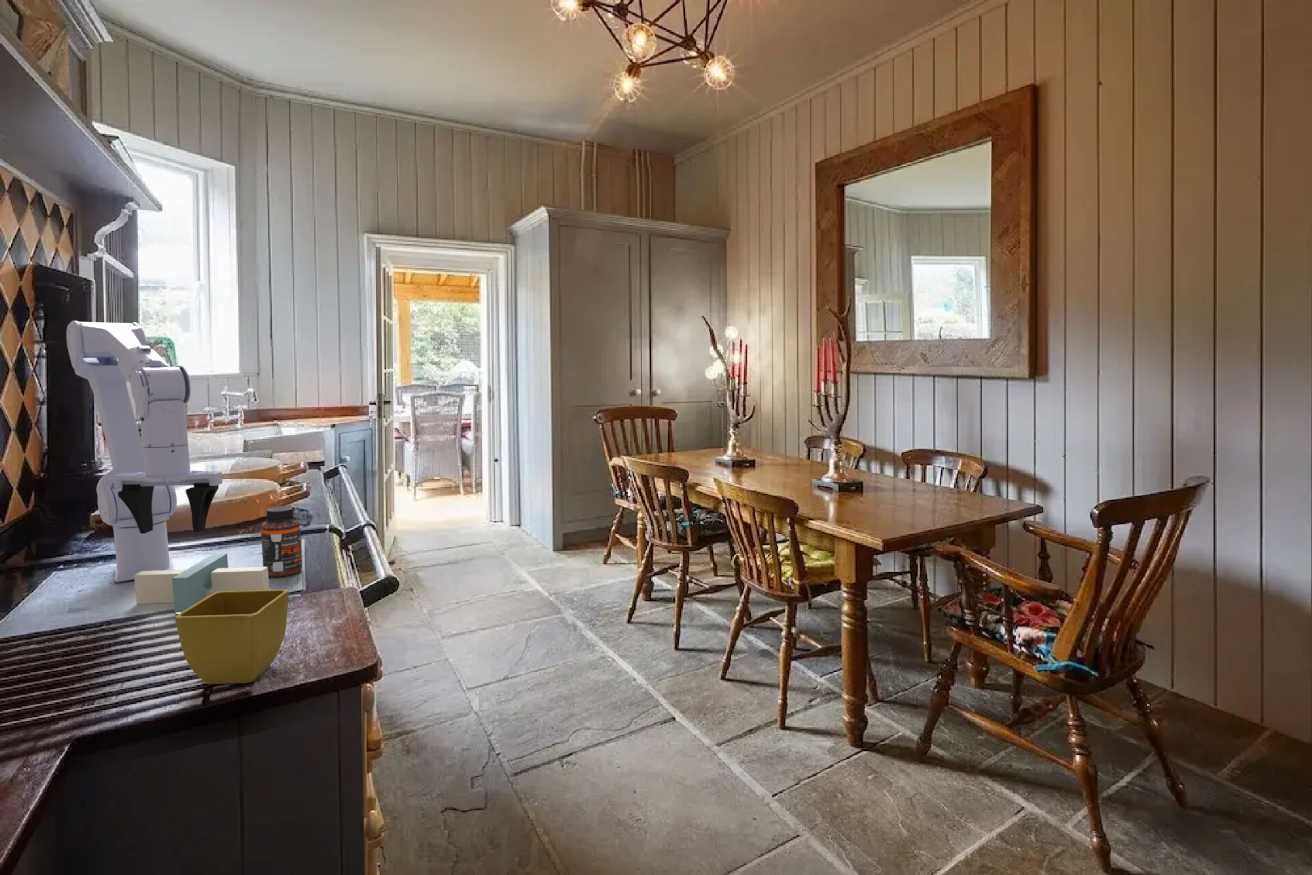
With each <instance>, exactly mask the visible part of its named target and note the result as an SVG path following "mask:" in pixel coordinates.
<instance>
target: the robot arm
mask: <svg viewBox="0 0 1312 875" xmlns="http://www.w3.org/2000/svg"><path fill="white" fill-rule="evenodd" d="M146 341H147V340H146V334H145V331H144V328H143V327H142V326H141V325H140V324H139V323H137V322H131V323H129V322H97V321H96V322H95V321H93V322H91V321H90V322H89V321H78V320H72V321H71V322H70V323H68V325H67V328H66V346H67V350H68V355H69V359H70V361H71V366H72V368H73V370H74V372H75V375H77V376H78V377H81V378H83V379H85V380H87V381H88V383H89V386H90V389H91V391H92V393H93V397H94V400H95V403H96V408H97V412H98V415H99V420H100V424H101V427H102V431H103V435H104V439H105V442H106V443H105V444H106V448H107V452H108V455H109V458H110V463H111V467H112V469H110V471H108V472H106V474H104V475H103V476H102V477H101V478H100V479H99V481H98V483H97V485H96V495H97V507H98V513H99V515H100V519H101V520H102V521H103V522H104V523H105V524H107V525H108V526H112V528H113V529H112V530H113V539H114V548H115V549H114V550H115V558H116V560H115V561H116V565H115V566H114V583H121V582H122V583H123V582H127V581H135V579H134V575H136V574H137V573H139V572H141V571H157V570H175V569H174V566H173V562H172V558H170V550H169V541H168V529H167V528H168V527H167V521H169V520H170V516H172V515H173V514H174V513H175V511H176V509H177V506H178V505H177V504H178V498H177V493H176V489H175V487H176V486H180V487H181V486H193V487H189V488H186V489H185V491H184V492H185V494H186V497H187V499H188V503H189V506H190V512H191V523H192V524H191V525H192V530H193V533H200V532H202V531H204V530H205V529H206V524H207V520H208V515H209V510H210V507H211V505H212V502H213V500H214V498H215V496H216V494H217V492H218V490H219V488H220V487H219V485H222V484H223V473H222V471H221V470H220V471H215V470H214V471H208V470H205V471H204V470H192V469H191V463H190V462H191V460H190V450H189V439H188V428H187V427H188V425H187V414H186V404H187V403H189V402H190V398H191V392H192V391H191V387H192V386H191V381H190V377H189V373H188V371H187V369H186V368H185V367H184V366H183V365H176V366H175V365H174V366H171V365H169V364H168V363H167V362H166V361H165V359H163V357H161V355H159V353H158V352H157V351H155V350H154V349H152V348H151V347H150V346H149V345H147V343H146ZM127 382H128V383H129V384H130V388H131V389H130V391H131V394H132V398H133V401H134V407H135V412H136V416H138V417H140V418H139V420H140V429H141V435H140V432H139V428H138V424H137V421H136V420H137V419H136V416H135V412H134V409H133V405H132V402H131V398H130V393H129V391H128V386H127ZM174 486H175V487H174Z"/></svg>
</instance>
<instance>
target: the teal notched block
mask: <svg viewBox="0 0 1312 875" xmlns="http://www.w3.org/2000/svg"><path fill="white" fill-rule="evenodd" d="M228 560H229V558H228V553H213V554H211V555H210V556H208V557H206V558H204V559H203V560H201V561H199V562H197V563H196V564H194V565H191V566H190V567H189V568H187V570H186V569H184V570H185V571H183V572H182V573H180V574H178V575H177V576H175V577H173V578H172V584H173V596H174V603H173V607H174V613H175V612H183V611H185V610H186V609H188V608H189V607H191V606H193V605H194V604H196V603H197V602H199V601H201V600H202V599H204V598H205V594H204V588H208V587H212V579H211V572H213V571H214V570H216V569H217V568H229V561H228Z"/></svg>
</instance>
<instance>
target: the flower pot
mask: <svg viewBox="0 0 1312 875" xmlns="http://www.w3.org/2000/svg"><path fill="white" fill-rule="evenodd" d="M289 593H290V591H289V589H269V590H250V591H217V592H215V593H213V594H211V595H209V596H207V597H206V598H204V599H202V600H201V601H199V602H197V603H196V604H194V605H193V606H191V607H189V608H188V609H186V610H185V611H183V612H181V613H180V614H178V615H175V616H174V622H175V626H176V629H177V633H178V637H179V638H178V639H179V641H180V642H179V643H180V645H181V646H180V647H181V650H182V652H183V656H184V658H185V661H186V662H187V665H188V666H189V668H190V669H191V670H192V671H193V673H194V674H195V675H196V676H197V677H199V679H200V680H201V681H203V682H204V683H205V684H207V685H224V684H226V685H227V684H248V683H252V682H254V681H255V680H256V679H257V678H258V677H259V676H260V675H261V674H262V673H263V672H265V671H266V670H267V669H268V668H269V667H270V666H271V665H273V662H274V660H275V659H276V656H277V654H278V653H279V651H280V648H281V646H282V644H283V641H284V637H285V634H286V628H287V619H288V608H289V607H288V606H289V597H290V596H289Z"/></svg>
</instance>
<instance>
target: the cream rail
mask: <svg viewBox="0 0 1312 875" xmlns="http://www.w3.org/2000/svg"><path fill="white" fill-rule="evenodd" d="M187 569H188V568H187ZM187 569H186V568H185V569H174V570H157V571H141V572H139V573H137V574H136V575H134V579H135V580H134V586H135V588H134V589H135V598H136V605H146V604H148V605H149V604H168V603H169V604H171V603H173V604H174V596H173V584H172V578H173V577H175V576H177V575H178V574H180V573H182V572H183V571H185V570H187ZM211 579H212V587H208V588H204V594H205V598H206V597H207V596H209V595H211V594H213V593H215V592H217V591H250V590H270V581H269V576H268V567H263V566H251V567H250V566H248V567H228V568H217V569H216V570H214V571H213V572H211Z"/></svg>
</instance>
